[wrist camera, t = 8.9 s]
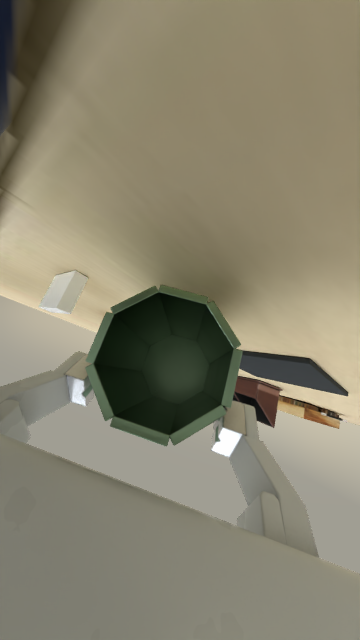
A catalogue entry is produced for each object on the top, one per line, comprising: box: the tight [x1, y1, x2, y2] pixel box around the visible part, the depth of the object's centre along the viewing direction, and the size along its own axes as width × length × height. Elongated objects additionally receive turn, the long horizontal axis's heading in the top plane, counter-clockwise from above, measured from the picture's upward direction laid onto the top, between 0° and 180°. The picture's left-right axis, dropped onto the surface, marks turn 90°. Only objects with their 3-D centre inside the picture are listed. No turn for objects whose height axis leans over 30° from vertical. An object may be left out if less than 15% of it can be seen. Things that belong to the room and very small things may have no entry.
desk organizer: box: [233, 376, 282, 428], centre depth 68 cm, size 10×29×11 cm, turn 150°
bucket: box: [85, 285, 242, 446], centre depth 13 cm, size 10×6×6 cm, turn 1°
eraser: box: [39, 270, 88, 314], centre depth 18 cm, size 1×5×4 cm, turn 126°
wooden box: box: [277, 396, 347, 429], centre depth 92 cm, size 25×6×28 cm
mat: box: [239, 351, 348, 396], centre depth 32 cm, size 20×16×1 cm
